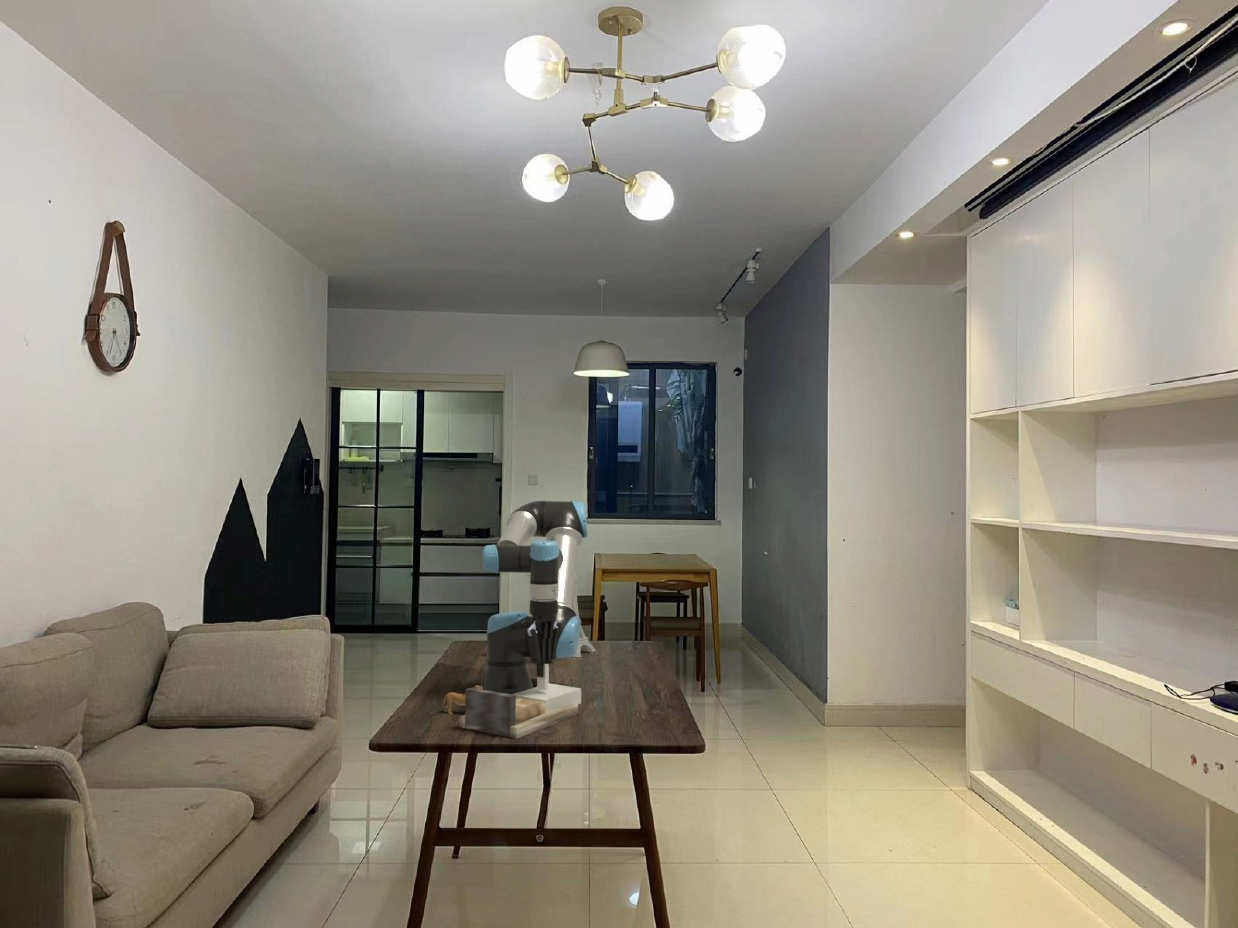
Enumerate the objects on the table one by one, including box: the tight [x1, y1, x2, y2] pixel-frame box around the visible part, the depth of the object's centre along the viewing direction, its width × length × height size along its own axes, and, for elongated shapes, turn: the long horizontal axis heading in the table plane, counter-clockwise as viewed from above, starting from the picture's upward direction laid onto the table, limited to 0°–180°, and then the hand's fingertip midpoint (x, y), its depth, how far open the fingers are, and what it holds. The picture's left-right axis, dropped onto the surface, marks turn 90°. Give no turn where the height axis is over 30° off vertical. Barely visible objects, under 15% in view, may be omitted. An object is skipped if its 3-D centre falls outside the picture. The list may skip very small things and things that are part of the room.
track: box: [458, 687, 579, 739], centre depth 215 cm, size 18×26×10 cm
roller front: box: [515, 708, 528, 725], centre depth 209 cm, size 12×4×4 cm, turn 59°
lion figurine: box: [437, 685, 483, 715], centre depth 221 cm, size 12×4×7 cm, turn 92°
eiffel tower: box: [572, 572, 597, 658], centre depth 304 cm, size 13×13×30 cm
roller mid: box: [516, 703, 538, 720], centre depth 213 cm, size 12×4×4 cm, turn 57°
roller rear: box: [516, 698, 546, 717], centre depth 217 cm, size 12×4×4 cm
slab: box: [512, 682, 582, 714], centre depth 225 cm, size 11×16×4 cm
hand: (542, 688), depth 223 cm, fingers closed
